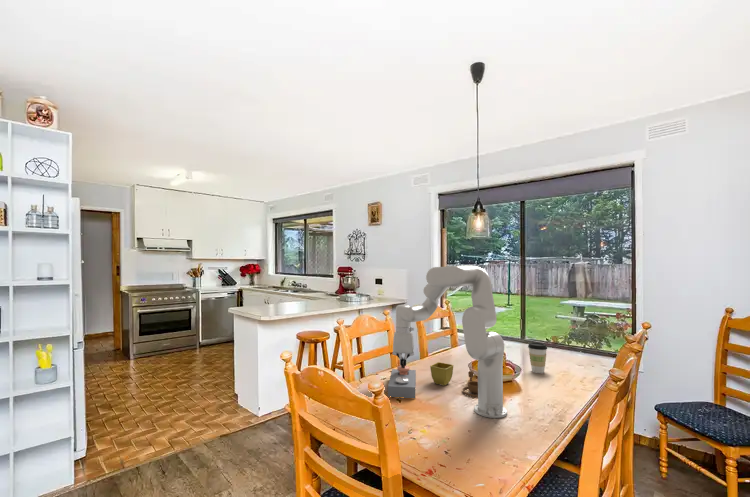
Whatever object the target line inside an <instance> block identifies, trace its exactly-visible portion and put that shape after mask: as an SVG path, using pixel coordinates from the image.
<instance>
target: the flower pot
mask: <svg viewBox="0 0 750 497" xmlns="http://www.w3.org/2000/svg"><path fill="white" fill-rule="evenodd" d="M429 367H430V374H431V378H432V381H433V383H434V384H435V383H436V385H439V384H441V385H440V386H444V385H445V386H446V385H448V384H450V382H451V380H452V377H453V373H454V364H450V363H444V362H439V361H438V362H436V363H434V364H431V365H430V366H429Z"/></svg>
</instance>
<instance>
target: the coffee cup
mask: <svg viewBox="0 0 750 497" xmlns="http://www.w3.org/2000/svg"><path fill="white" fill-rule="evenodd" d="M527 348H528V353H529V361H530V366H531V372H533V373H534V374H544V373H545V367H546V360H547V350H548V347H547V345H546V344H545V343H543V342H529V343H528V345H527Z"/></svg>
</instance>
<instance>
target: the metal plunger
mask: <svg viewBox="0 0 750 497" xmlns="http://www.w3.org/2000/svg"><path fill="white" fill-rule="evenodd" d="M396 383H398V384H407V383H409V379H408V378H406V377H397V378H396Z"/></svg>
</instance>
